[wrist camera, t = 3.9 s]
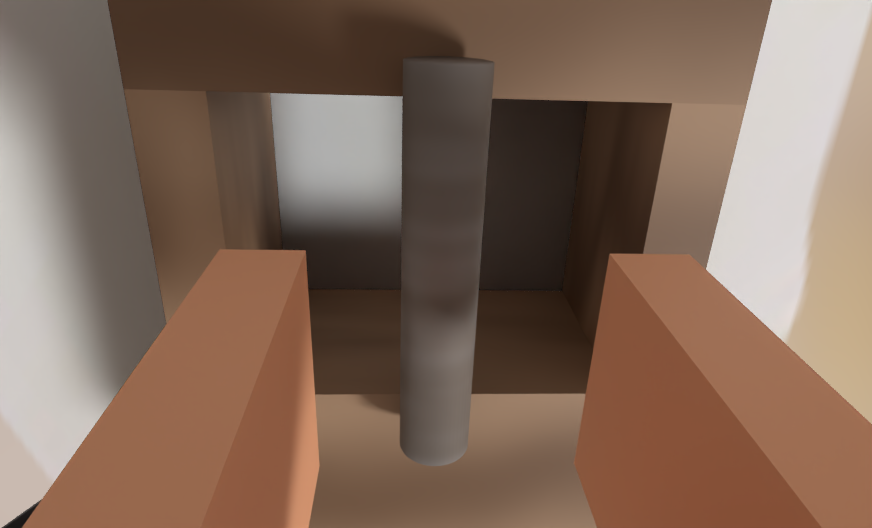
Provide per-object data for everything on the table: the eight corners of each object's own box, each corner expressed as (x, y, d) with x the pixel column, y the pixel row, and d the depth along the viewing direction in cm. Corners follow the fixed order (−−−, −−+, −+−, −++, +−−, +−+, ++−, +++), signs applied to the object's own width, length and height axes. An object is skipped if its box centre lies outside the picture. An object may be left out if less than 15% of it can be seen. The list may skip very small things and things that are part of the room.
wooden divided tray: (578, 454, 23) (647, 639, 16) (258, 457, 22) (197, 652, 15) (657, -8, 16) (829, -6, 9) (200, -24, 15) (51, -34, 9)
